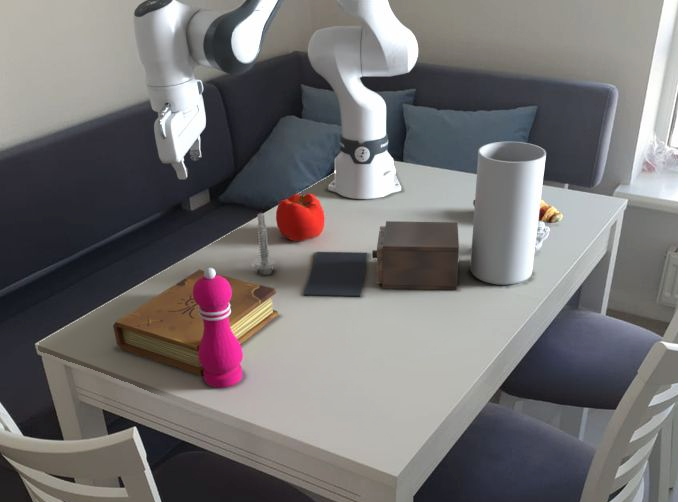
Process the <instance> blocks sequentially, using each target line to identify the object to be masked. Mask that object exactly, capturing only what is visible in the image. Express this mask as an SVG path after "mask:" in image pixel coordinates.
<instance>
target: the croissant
mask: <svg viewBox="0 0 678 502" xmlns="http://www.w3.org/2000/svg"><path fill="white" fill-rule="evenodd" d="M472 205H473V207H474V208H475V199H473V202H472ZM563 217H564V215H563V213H561V212H559V210H558V209H557V208H556V207H555V206H553V205H549V204H548V203H546V202H545V201H544V199H542V198H541V201H540V210H539V218H538V221H543V222H544V223H547V224H554V223H559V222H561V221H562V220H563Z"/></svg>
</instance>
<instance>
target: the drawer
mask: <svg viewBox="0 0 678 502" xmlns="http://www.w3.org/2000/svg"><path fill="white" fill-rule="evenodd" d="M385 226H386V225H385ZM385 226H382V225H381V226H379V232H378V237H377V238H378V239H377V244H376V249H372V253H371V254H372V256H371V257H372V259H376V283H377V284H383V241H384V234H385Z"/></svg>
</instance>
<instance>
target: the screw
mask: <svg viewBox="0 0 678 502" xmlns="http://www.w3.org/2000/svg"><path fill="white" fill-rule="evenodd" d="M265 221H266V220H265V214H264V213H262V212H260V213H258V214H257V235H258V236H257V237H258V243H259V244H258V246H259V247H258V248H259V250H258V251H259V258H257V259H255V260H254V261H253V263H252V266H253V267H254V269H257V270H258V273H259V275H263V276H267V275H271V274H272V272H273V269H274V268H275V267H277V264H278V261H277V260H276V259H274V258H272V257H270V255H269V245H268V243H269V242H268V241H269V240H268V231H267V230H268V228H267V225H266V222H265Z"/></svg>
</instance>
